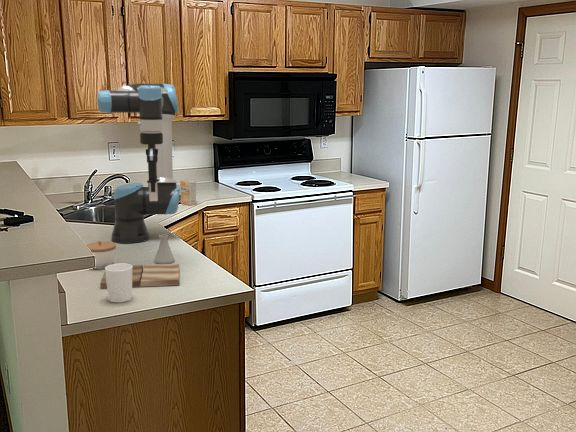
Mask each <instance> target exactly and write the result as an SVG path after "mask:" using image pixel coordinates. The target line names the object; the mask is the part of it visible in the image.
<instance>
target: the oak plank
mask: <svg viewBox="0 0 576 432" xmlns="http://www.w3.org/2000/svg"><path fill="white" fill-rule="evenodd" d="M160 286H161V287H165V286H166V287H167V286H180V263H167V264H159V263H156V264H144V265H143V273H142V277H141V283H140V287H160Z"/></svg>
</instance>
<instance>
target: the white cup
mask: <svg viewBox="0 0 576 432" xmlns="http://www.w3.org/2000/svg"><path fill="white" fill-rule="evenodd" d="M132 265H133V264H129V263H126V262H125V263H123V262H121V263H120V262H119V263H118V262H117V263H112V264H111V265H108V266H106V267H105V268H104V273H105V274H106V283H107V289H106V290H107V293H108V294H107V296H108V301H109V302H111V303H127V302H129V301H130V300H132V298H133V293H132V292H133V288H132Z"/></svg>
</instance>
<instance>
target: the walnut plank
mask: <svg viewBox="0 0 576 432" xmlns="http://www.w3.org/2000/svg"><path fill="white" fill-rule="evenodd" d="M131 265H132V289H133V288H140V287H141V277H142V273H143V268H144V265H143V264H134V265H133V264H131ZM99 286H100V287H99V288H100V289H101V290H105V289H106V290H107V283H106V274H105V272H104V274H103V276H102V277H101V280H100V282H99Z"/></svg>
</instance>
